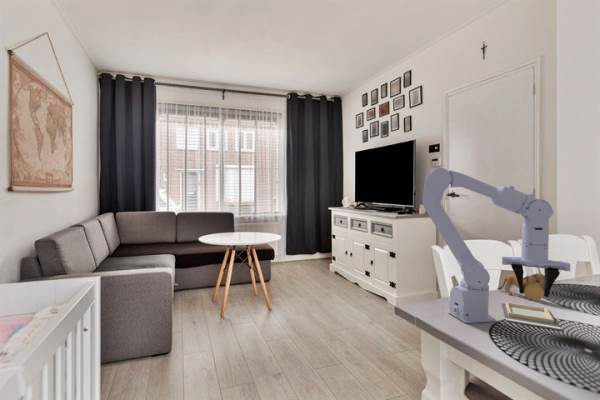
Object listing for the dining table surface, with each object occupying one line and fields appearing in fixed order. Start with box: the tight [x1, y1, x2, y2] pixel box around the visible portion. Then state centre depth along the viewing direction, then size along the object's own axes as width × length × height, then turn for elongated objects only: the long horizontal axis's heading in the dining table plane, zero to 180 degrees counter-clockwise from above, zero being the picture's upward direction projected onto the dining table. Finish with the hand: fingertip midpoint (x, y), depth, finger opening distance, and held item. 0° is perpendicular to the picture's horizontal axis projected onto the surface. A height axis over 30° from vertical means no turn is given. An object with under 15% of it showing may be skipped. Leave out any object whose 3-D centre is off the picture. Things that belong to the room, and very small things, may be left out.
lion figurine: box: [497, 273, 545, 301], centre depth 109 cm, size 15×5×9 cm, turn 36°
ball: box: [523, 281, 545, 301], centre depth 84 cm, size 5×5×5 cm
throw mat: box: [501, 301, 563, 332], centre depth 91 cm, size 16×12×1 cm
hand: (533, 294), depth 85 cm, fingers closed on ball, 5 cm apart
